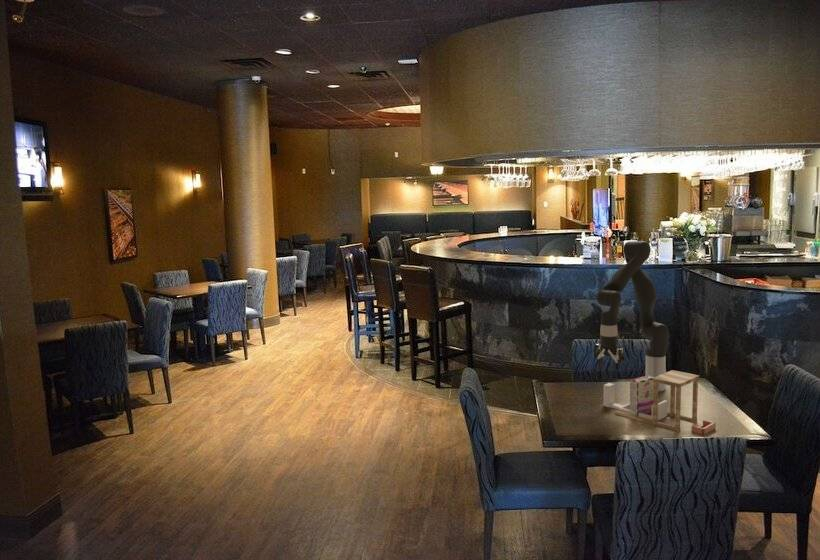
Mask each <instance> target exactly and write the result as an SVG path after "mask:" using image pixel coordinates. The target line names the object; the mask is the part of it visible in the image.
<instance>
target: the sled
mask: <svg viewBox="0 0 820 560" xmlns="http://www.w3.org/2000/svg"><path fill="white" fill-rule="evenodd" d="M615 391H616V384H615V383H611V382H607V383H605V384H603V407H606V408H611V409H616V410H617V411H620V412H623V413H627V414H631V415H634V416H635V412H633V411H631V410H630V402H629V403H626V404H624V405H622V404H619V403H616V402H615V401H616V400H615V397H616V394H615ZM667 412H668V400H666V399H664V400H663V401H661V402H658V421H660V420H663V419H664V418H666V417H667V416H668V415H667ZM638 417H642V418H645V419H649V420H653V406H652V414H651V415H647V414H643V413H638Z"/></svg>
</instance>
